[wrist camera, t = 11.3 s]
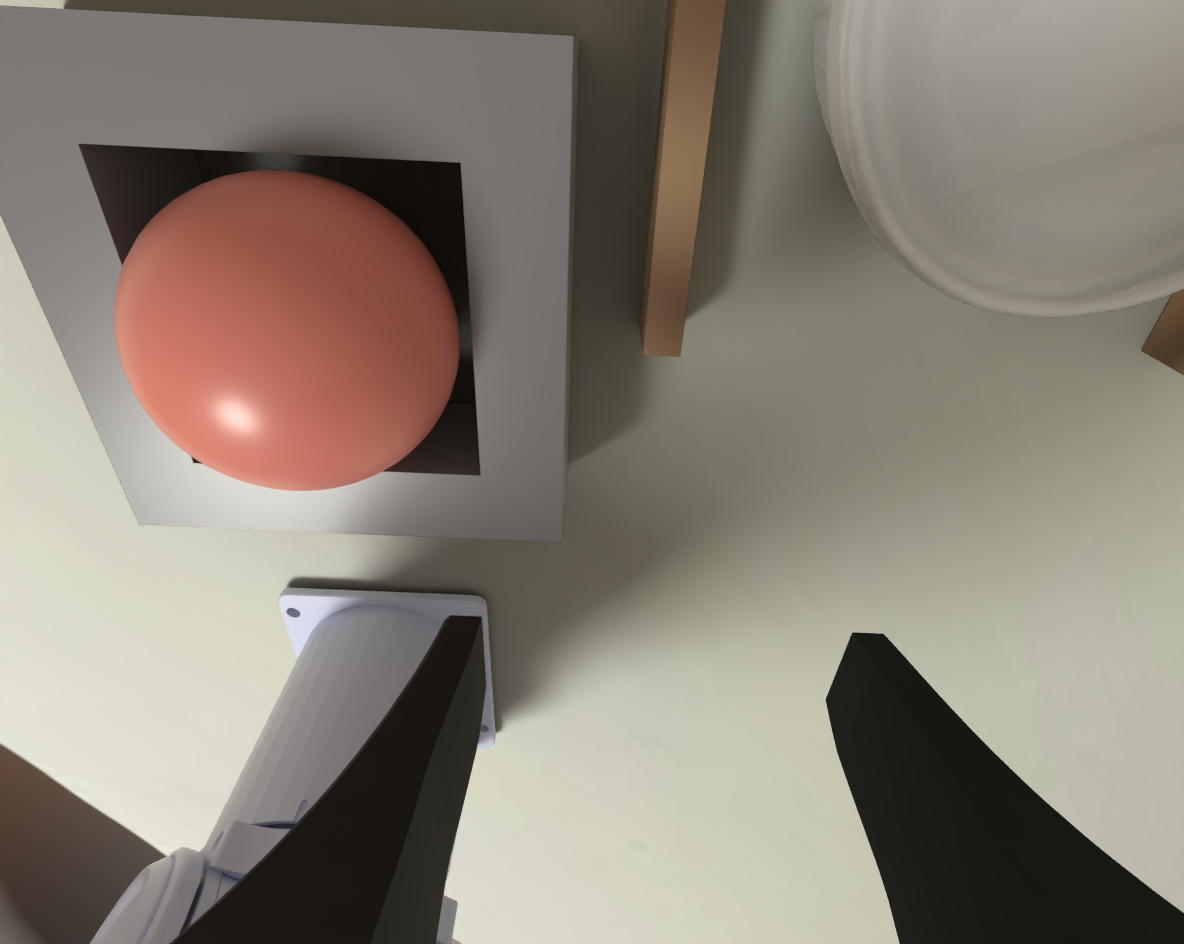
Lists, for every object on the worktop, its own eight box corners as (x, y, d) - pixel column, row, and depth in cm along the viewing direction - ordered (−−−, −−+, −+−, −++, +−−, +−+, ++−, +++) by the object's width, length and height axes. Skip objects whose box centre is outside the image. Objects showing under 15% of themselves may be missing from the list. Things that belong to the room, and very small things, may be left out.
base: (568, 465, 22) (561, 542, 18) (210, 450, 21) (138, 524, 18) (579, 37, 15) (572, 36, 12) (60, 10, 15) (-96, 0, 11)
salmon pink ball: (486, 408, 20) (438, 562, 14) (256, 397, 19) (109, 548, 14) (473, 155, 16) (397, 221, 10) (185, 140, 16) (-64, 198, 10)
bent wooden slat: (1174, 352, 19) (1229, 382, 17) (639, 327, 19) (643, 354, 17) (1664, -481, 11) (1858, -576, 9) (717, -543, 11) (738, -653, 9)
